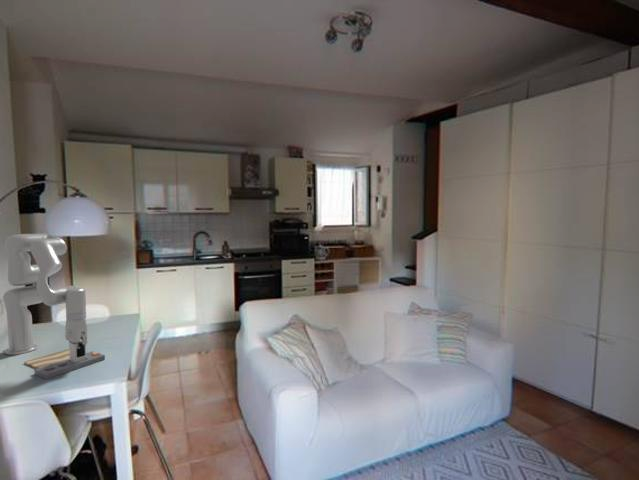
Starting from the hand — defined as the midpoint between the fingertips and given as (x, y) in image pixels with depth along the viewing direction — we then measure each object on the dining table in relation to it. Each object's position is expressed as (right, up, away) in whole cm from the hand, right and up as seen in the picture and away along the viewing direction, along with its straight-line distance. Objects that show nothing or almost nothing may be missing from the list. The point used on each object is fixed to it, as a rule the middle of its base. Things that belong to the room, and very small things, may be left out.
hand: (77, 354), depth 166 cm
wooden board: (-14, -4, +5) cm, 16 cm away
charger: (0, -3, 0) cm, 3 cm away
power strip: (-1, -4, -2) cm, 5 cm away
